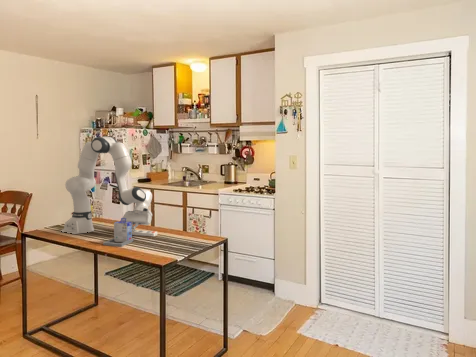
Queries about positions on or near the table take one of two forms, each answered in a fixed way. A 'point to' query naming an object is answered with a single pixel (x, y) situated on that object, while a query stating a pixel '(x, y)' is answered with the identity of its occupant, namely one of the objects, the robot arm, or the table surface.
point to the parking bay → (117, 243)
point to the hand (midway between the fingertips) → (132, 229)
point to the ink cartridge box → (122, 231)
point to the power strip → (144, 233)
